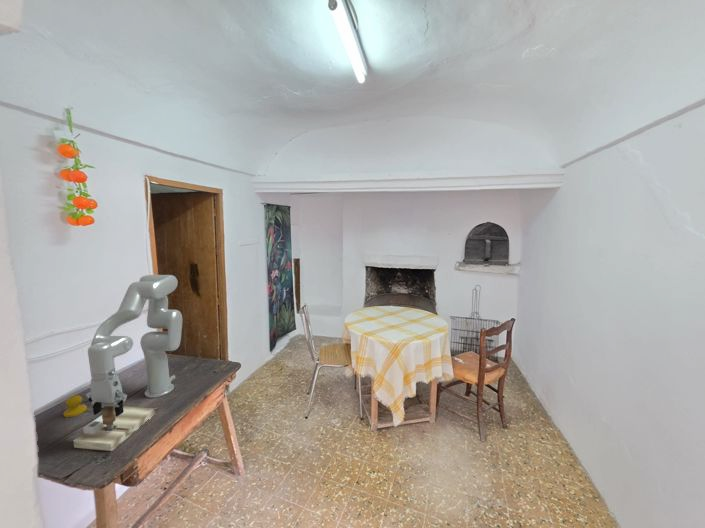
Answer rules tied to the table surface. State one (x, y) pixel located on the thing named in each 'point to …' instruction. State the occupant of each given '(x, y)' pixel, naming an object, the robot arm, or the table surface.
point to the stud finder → (94, 426)
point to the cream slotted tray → (115, 430)
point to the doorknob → (74, 406)
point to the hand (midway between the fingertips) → (108, 413)
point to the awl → (108, 416)
